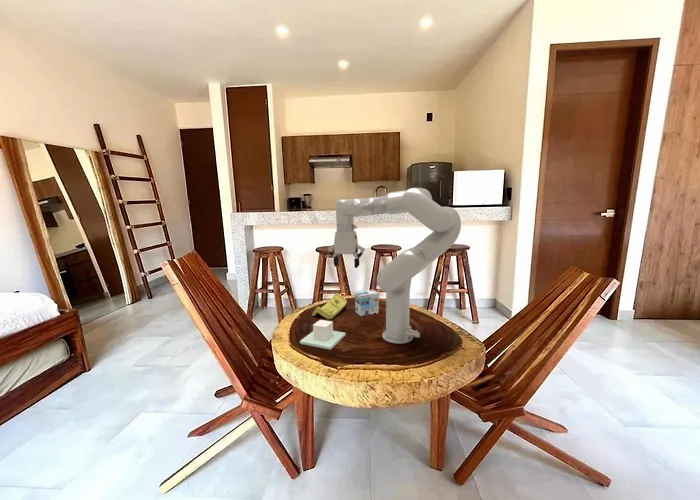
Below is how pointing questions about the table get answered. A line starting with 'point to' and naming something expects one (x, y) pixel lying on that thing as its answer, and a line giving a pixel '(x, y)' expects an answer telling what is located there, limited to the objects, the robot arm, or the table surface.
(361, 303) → the light bulb box
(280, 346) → the table surface
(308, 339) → the stub plate
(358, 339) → the table surface
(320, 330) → the off-white plain cube
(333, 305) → the plastic component
